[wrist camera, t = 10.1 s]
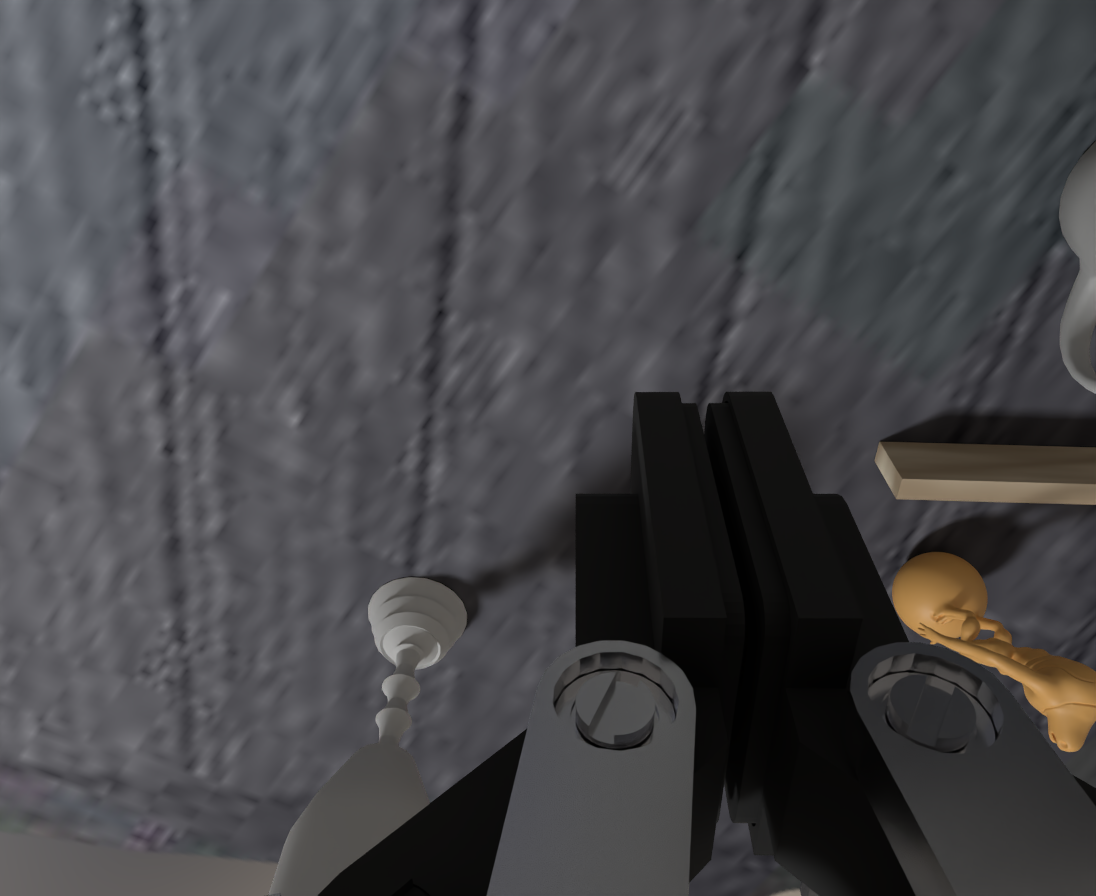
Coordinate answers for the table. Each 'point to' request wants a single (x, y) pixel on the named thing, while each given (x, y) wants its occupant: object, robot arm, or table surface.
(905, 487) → the wooden u-shaped frame
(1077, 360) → the cup
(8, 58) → the table surface
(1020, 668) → the figurine
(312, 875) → the chalice
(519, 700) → the table surface
